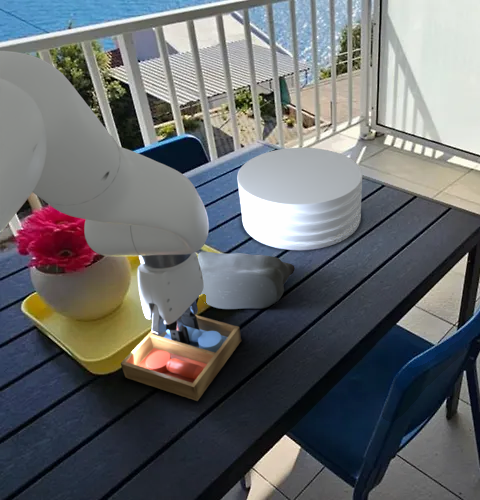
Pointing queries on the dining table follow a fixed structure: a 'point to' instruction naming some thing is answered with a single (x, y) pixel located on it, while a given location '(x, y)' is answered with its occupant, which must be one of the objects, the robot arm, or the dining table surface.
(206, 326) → the caddy
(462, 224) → the dining table surface
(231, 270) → the rock
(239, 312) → the dining table surface
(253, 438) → the dining table surface
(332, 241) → the plate stack
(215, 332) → the blue disc-ended peg
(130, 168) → the robot arm
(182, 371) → the red knob peg
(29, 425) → the dining table surface
